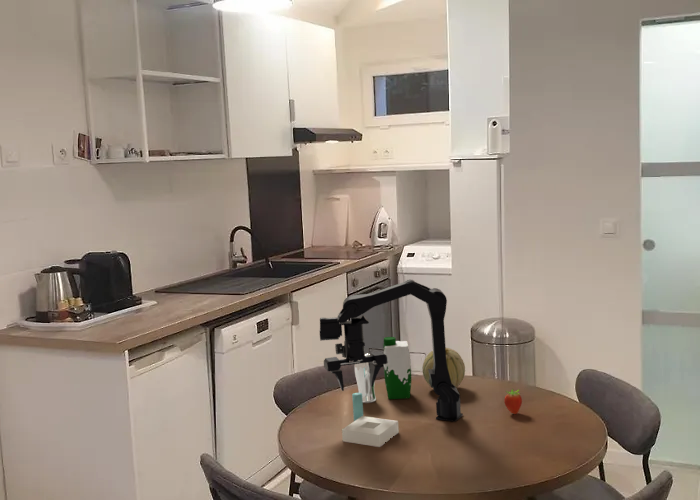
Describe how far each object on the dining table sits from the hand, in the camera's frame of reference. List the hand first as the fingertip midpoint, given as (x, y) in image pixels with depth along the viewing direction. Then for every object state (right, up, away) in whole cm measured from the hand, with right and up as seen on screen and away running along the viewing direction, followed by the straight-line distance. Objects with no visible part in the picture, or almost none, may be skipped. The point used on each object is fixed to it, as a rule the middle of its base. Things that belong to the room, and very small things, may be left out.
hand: (357, 388), depth 226 cm
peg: (0, -11, +1) cm, 11 cm away
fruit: (+48, -8, +1) cm, 49 cm away
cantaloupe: (+30, -6, +29) cm, 42 cm away
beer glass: (+3, -8, +22) cm, 24 cm away
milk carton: (+14, -7, +25) cm, 30 cm away
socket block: (+4, -12, -11) cm, 17 cm away
